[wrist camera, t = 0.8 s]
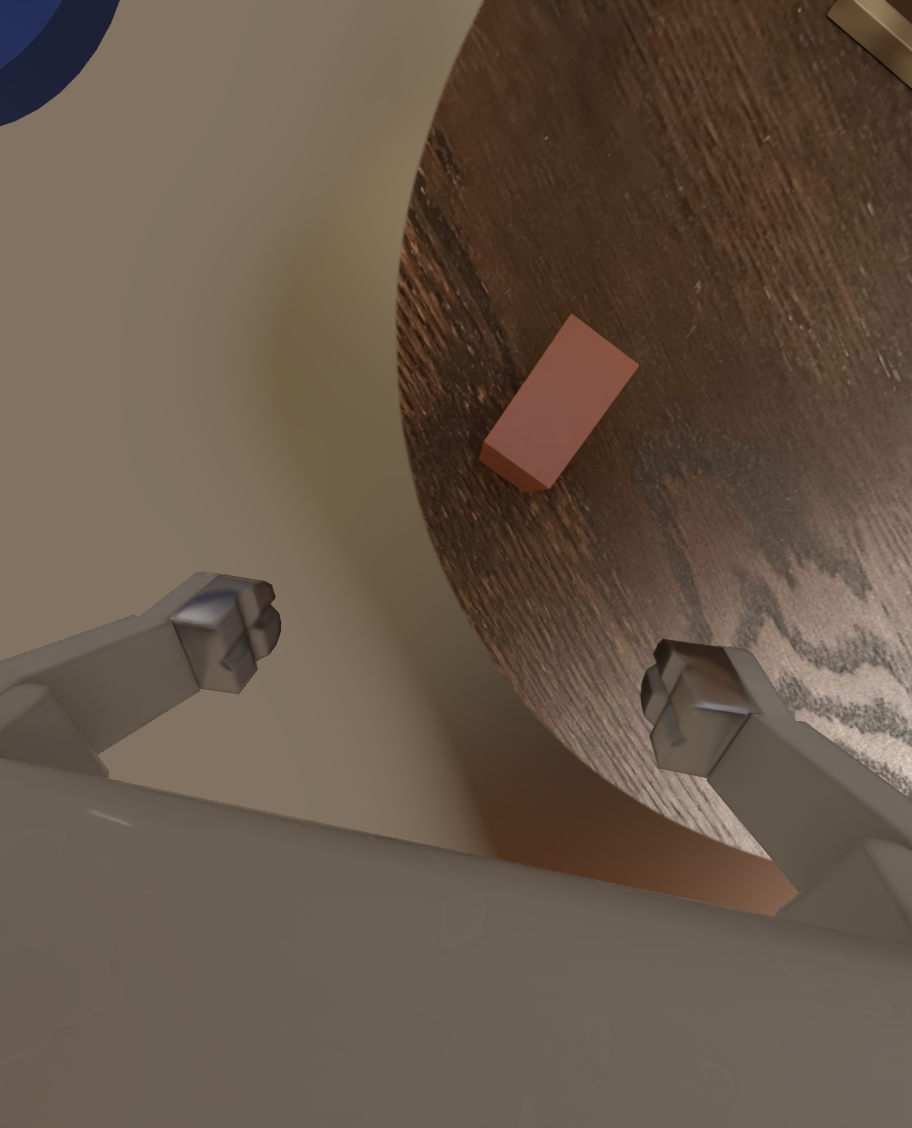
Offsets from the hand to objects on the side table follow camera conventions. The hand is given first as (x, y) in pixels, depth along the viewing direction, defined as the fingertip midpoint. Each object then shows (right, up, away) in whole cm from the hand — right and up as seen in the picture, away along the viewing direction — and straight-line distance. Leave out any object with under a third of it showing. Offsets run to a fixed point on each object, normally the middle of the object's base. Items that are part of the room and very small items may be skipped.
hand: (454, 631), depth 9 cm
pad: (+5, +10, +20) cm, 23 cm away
